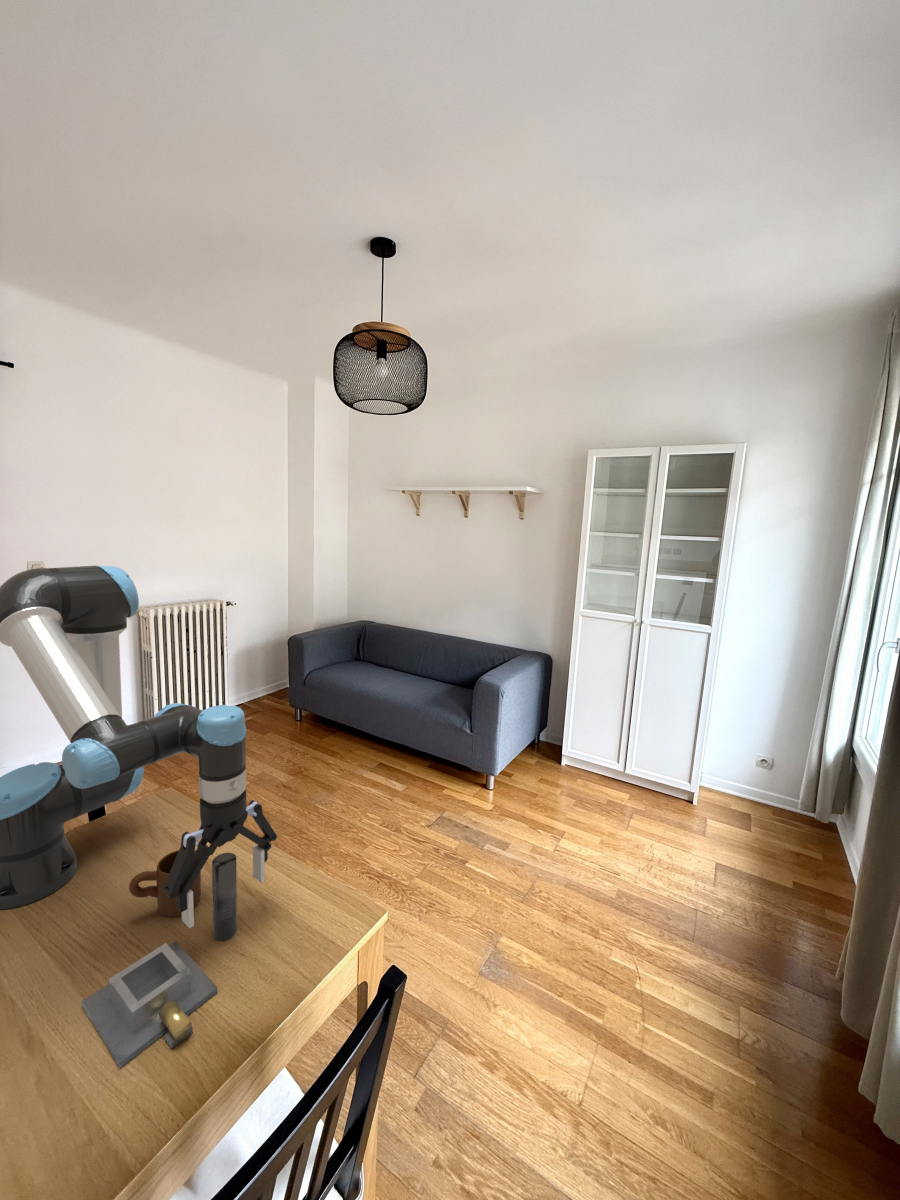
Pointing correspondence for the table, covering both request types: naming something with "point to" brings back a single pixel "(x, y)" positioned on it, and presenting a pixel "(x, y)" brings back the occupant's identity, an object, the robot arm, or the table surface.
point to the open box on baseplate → (149, 1002)
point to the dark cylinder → (224, 896)
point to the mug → (160, 876)
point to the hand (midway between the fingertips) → (225, 899)
